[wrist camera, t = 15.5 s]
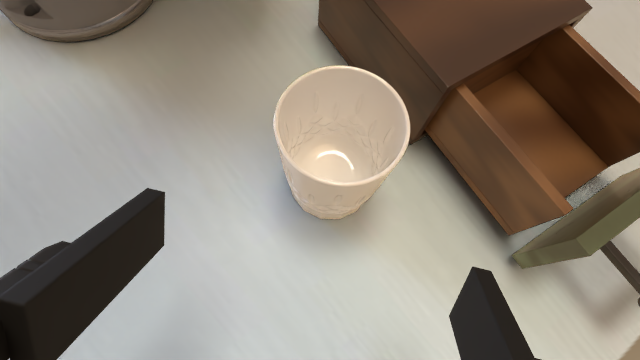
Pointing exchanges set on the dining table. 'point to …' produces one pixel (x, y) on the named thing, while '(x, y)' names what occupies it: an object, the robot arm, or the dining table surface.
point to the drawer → (548, 147)
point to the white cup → (339, 137)
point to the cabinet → (438, 41)
